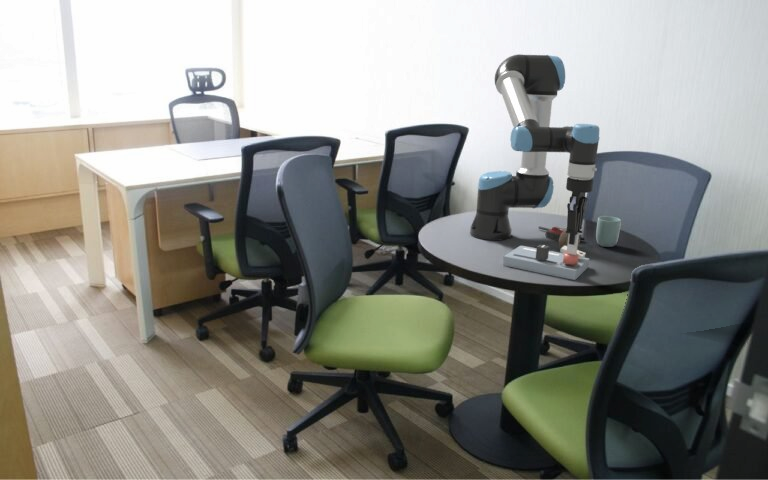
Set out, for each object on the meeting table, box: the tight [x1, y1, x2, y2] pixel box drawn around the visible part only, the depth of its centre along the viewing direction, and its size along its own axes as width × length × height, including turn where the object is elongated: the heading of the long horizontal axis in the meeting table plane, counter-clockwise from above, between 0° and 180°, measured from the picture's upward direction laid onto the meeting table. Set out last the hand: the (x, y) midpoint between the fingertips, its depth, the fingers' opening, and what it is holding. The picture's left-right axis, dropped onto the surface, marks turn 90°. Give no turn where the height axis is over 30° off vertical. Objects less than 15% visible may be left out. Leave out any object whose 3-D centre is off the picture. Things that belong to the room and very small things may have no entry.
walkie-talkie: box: [538, 225, 585, 243], centre depth 237 cm, size 9×4×20 cm
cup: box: [595, 215, 622, 248], centre depth 227 cm, size 8×8×10 cm
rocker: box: [559, 246, 587, 259], centre depth 202 cm, size 7×4×1 cm, turn 58°
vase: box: [558, 227, 580, 250], centre depth 218 cm, size 7×7×9 cm
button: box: [563, 252, 579, 265], centre depth 195 cm, size 4×4×3 cm
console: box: [502, 245, 590, 281], centre depth 203 cm, size 23×15×4 cm, turn 58°
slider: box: [536, 244, 550, 261], centre depth 199 cm, size 3×3×4 cm
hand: (571, 253), depth 194 cm, fingers closed
